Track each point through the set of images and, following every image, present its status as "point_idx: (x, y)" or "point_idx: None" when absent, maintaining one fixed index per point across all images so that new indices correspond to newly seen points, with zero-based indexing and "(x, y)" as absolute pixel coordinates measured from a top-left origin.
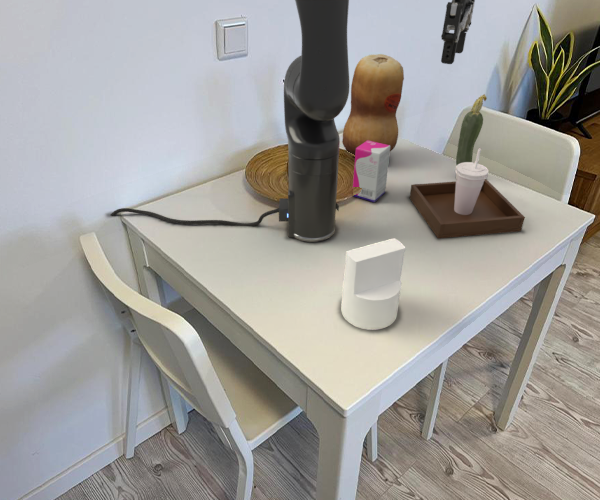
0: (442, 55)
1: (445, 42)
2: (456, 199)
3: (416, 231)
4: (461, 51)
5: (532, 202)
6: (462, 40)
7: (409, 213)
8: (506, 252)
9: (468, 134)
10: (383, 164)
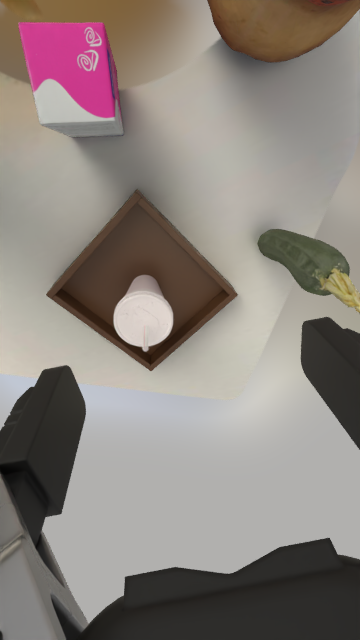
0: (33, 393)
1: (4, 466)
2: (129, 287)
3: (46, 251)
4: (305, 371)
5: (237, 347)
6: (337, 409)
7: (87, 215)
8: (91, 360)
9: (289, 265)
10: (80, 129)
